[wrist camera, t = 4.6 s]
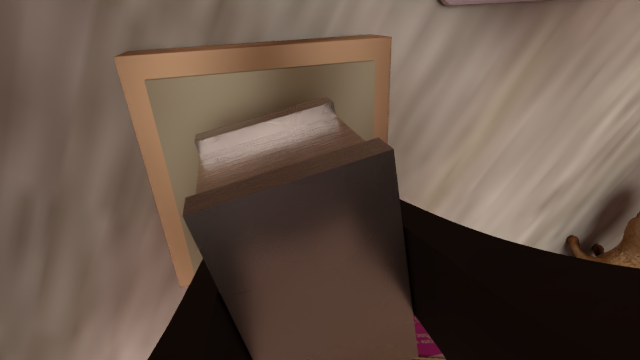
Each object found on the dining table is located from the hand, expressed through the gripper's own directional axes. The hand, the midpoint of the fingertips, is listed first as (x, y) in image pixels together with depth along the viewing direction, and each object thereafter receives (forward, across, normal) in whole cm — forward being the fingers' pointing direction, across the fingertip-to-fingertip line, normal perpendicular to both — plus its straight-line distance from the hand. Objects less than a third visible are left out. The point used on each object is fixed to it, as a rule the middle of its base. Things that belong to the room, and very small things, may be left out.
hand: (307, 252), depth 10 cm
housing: (+2, 0, 0) cm, 3 cm away
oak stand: (+8, 0, 0) cm, 8 cm away
